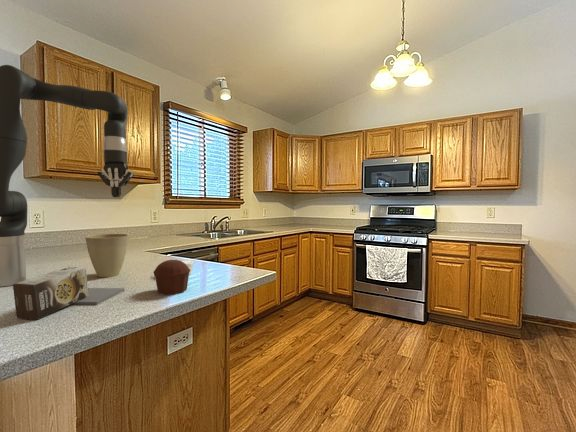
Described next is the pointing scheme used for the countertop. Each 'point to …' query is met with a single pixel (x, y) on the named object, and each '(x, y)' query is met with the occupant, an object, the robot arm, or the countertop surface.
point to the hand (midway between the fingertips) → (116, 197)
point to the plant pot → (107, 253)
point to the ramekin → (188, 264)
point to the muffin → (171, 277)
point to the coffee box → (50, 292)
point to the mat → (98, 295)
